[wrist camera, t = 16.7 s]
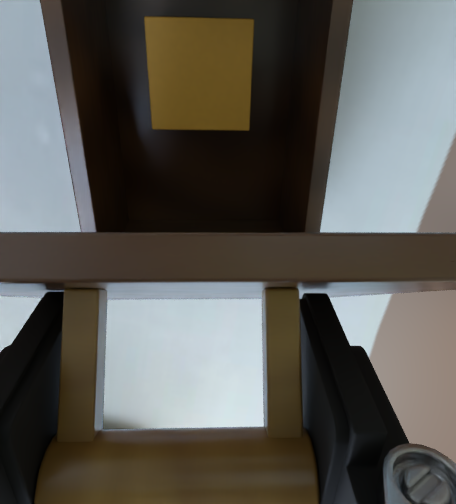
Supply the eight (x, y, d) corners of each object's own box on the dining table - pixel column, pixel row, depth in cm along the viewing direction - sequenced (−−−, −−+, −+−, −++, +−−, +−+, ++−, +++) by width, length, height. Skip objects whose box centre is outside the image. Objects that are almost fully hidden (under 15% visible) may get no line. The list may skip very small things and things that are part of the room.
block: (157, 19, 24) (143, 16, 19) (246, 21, 24) (254, 18, 20) (162, 112, 27) (151, 130, 22) (242, 113, 27) (249, 130, 22)
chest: (88, -35, 23) (27, -69, 16) (313, -29, 24) (362, -58, 16) (120, 225, 32) (90, 288, 24) (287, 225, 32) (312, 287, 24)
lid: (-274, 230, 6) (-339, 635, 5) (586, 231, 6) (632, 600, 6) (88, 285, 23) (85, 381, 23) (313, 285, 24) (316, 378, 23)
